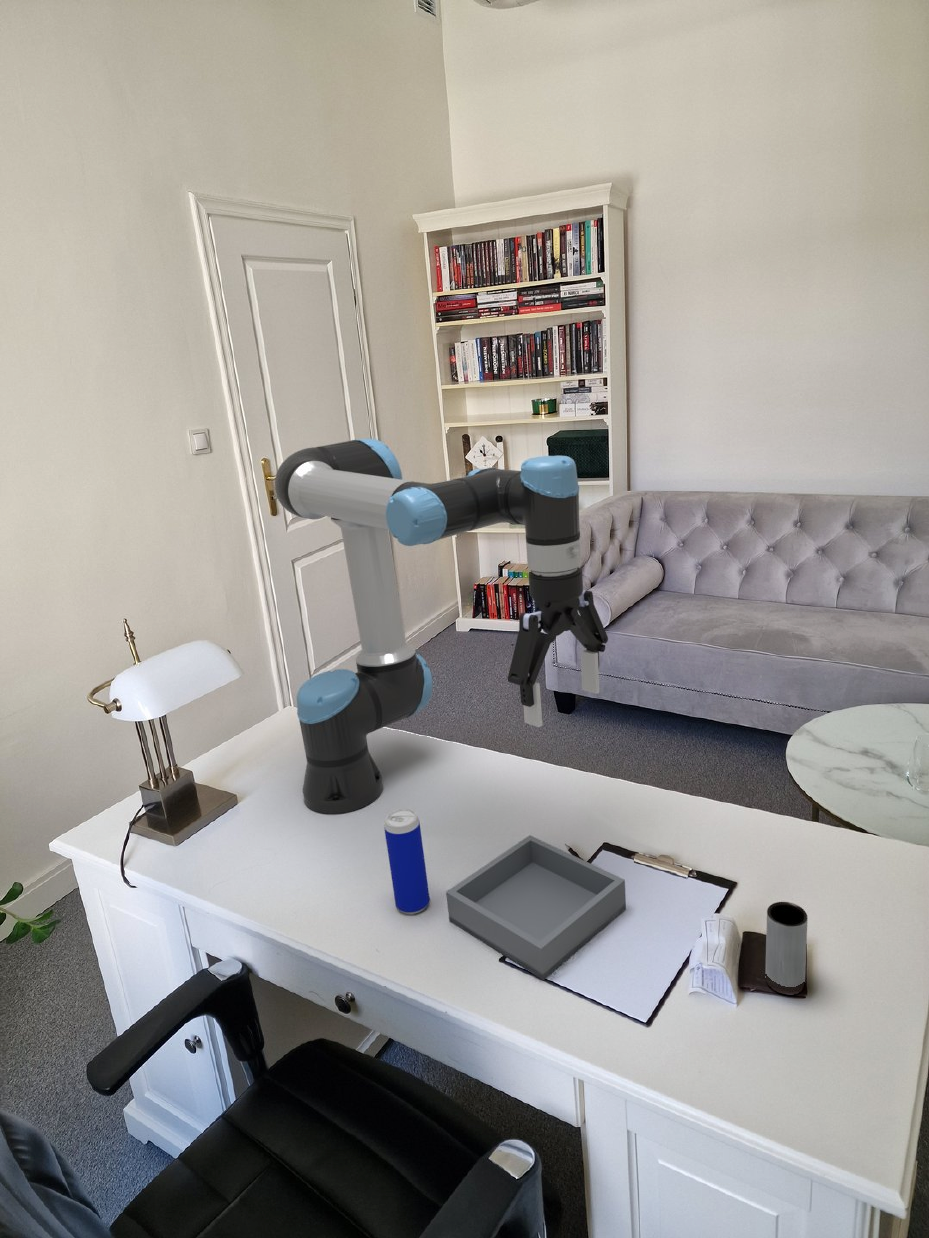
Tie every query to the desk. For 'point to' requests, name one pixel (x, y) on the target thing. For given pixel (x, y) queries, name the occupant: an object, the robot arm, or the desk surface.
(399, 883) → the beverage can
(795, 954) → the grey cylinder
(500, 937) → the bin
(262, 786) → the desk surface
